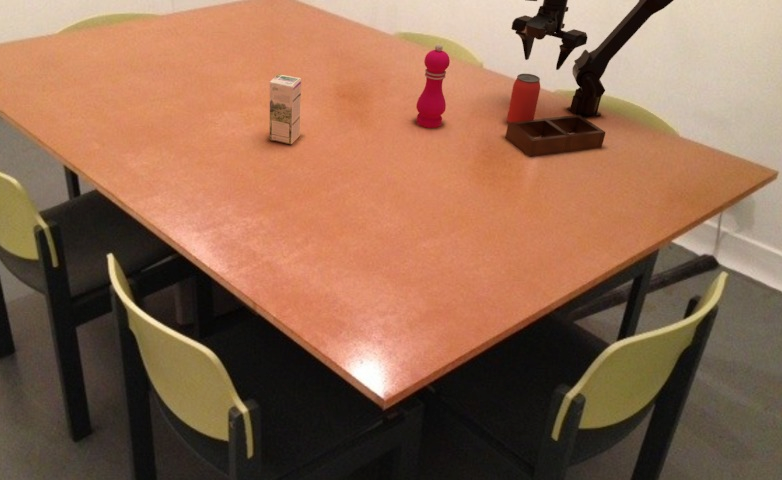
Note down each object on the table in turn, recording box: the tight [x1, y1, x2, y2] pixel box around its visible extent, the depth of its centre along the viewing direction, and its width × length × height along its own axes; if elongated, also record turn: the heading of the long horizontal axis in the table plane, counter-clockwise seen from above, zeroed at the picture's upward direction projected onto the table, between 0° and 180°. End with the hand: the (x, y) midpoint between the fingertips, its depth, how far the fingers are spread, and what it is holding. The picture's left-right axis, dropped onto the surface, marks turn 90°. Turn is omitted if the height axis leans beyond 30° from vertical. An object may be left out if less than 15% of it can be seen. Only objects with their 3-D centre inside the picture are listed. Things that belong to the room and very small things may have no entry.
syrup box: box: [269, 73, 302, 145], centre depth 177 cm, size 6×6×14 cm
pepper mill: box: [416, 43, 451, 129], centre depth 188 cm, size 7×7×20 cm
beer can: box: [506, 73, 541, 123], centre depth 194 cm, size 7×7×12 cm
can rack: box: [505, 114, 607, 157], centre depth 187 cm, size 21×11×4 cm, turn 111°
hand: (541, 64), depth 199 cm, fingers open, 9 cm apart
